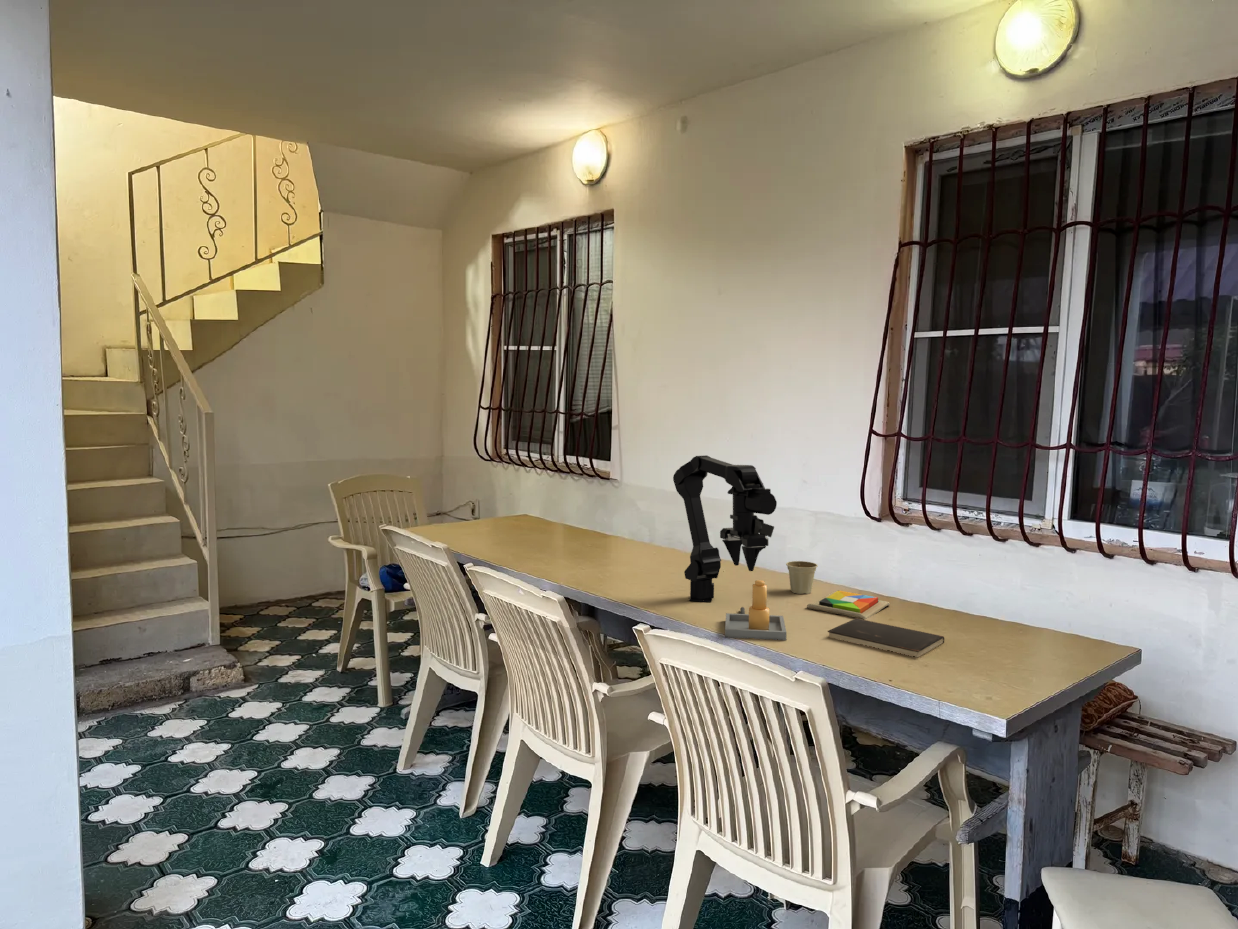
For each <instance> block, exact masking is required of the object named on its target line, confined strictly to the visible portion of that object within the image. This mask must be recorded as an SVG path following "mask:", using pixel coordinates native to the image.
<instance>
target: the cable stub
mask: <svg viewBox="0 0 1238 929" xmlns="http://www.w3.org/2000/svg"><path fill="white" fill-rule="evenodd" d="M739 612H740V613H739V614H746V610H745V607H743V606H741V607H740V611H739Z"/></svg>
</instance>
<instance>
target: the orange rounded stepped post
mask: <svg viewBox="0 0 1238 929" xmlns="http://www.w3.org/2000/svg"><path fill="white" fill-rule="evenodd" d="M767 589H768V585H767V584H765V580H761V579H759V580H755V581H754V583H752V594H751V598H752V600H751V606H749V607H748V614H749V628H748V629H750V630H769V615H770V610H771V609H770V608H769V607H768V606H767V604H768V603H767V601H768V600H767V599H768V598H767V597H768V596H767V595H768V594H767V593H768V590H767Z"/></svg>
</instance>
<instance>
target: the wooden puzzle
mask: <svg viewBox="0 0 1238 929" xmlns="http://www.w3.org/2000/svg"><path fill="white" fill-rule="evenodd" d="M890 606H891V603H890V602H889V601H886V600H879V597H876V596H871V595H866V594H860V593H856V592H855V593H854V592H849V591H844V590H837V591H835V592H834V591H832V592H830V593H829V594H826V595H825V596H824V597H822V598H820V599H818V600H817V601H815V602H814V603H808V604H807V605H806V608H807V609H808V610H810V609H811V610H815V611H819V612H820V611H821V612H826V613H830V614H835V615H841V616H847V617H850V618H854V619H856V618H858V619H862V620H868V619H869V618H871V617H873V616H874V615H876V614H877V613H878V612H880V611H881V610H883V609H884V608H886V607H890Z"/></svg>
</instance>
